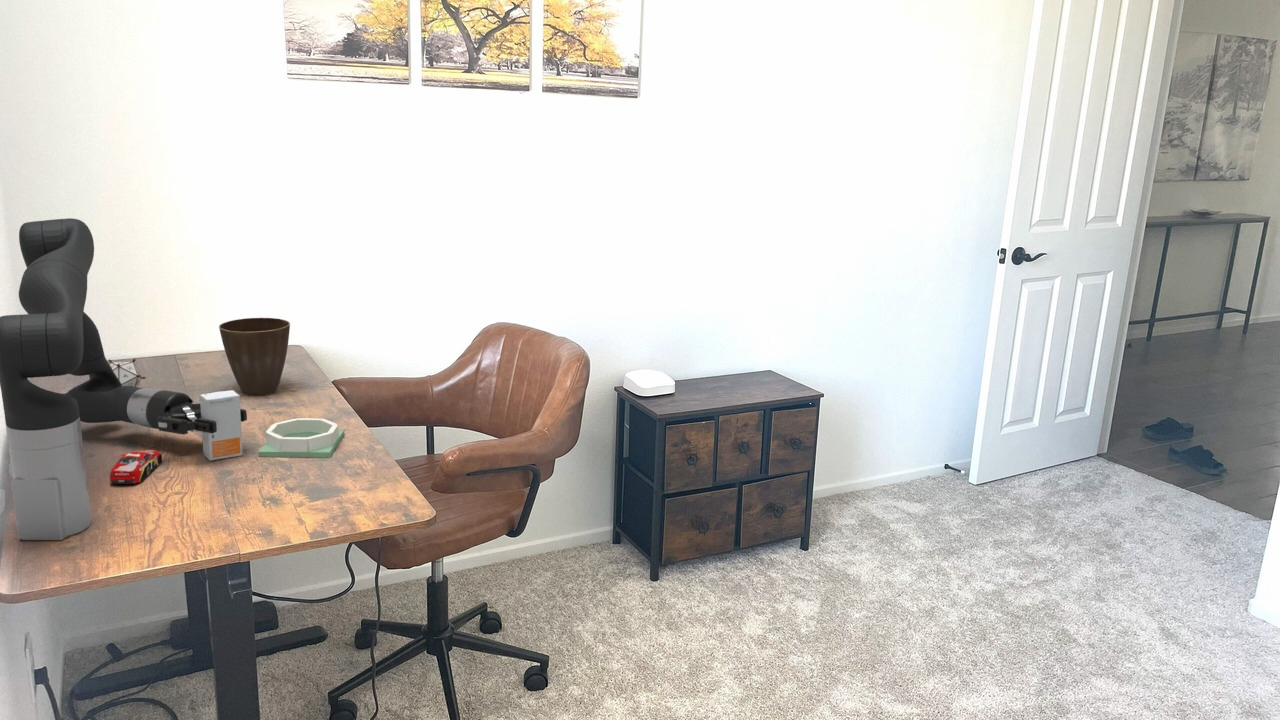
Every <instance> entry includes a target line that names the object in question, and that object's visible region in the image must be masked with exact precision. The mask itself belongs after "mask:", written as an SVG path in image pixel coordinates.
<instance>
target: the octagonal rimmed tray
mask: <svg viewBox="0 0 1280 720" xmlns="http://www.w3.org/2000/svg"><path fill="white" fill-rule="evenodd" d="M344 437H345V429H344V430H343V429H339V424H338V423H335V422H333V421H330V420H328V419H326V418H313V417H311V418H309V417H307V418H302V417H298V418H293V419H287V420H284V421H279V422H275V423H273V424H271V425H270V426H269V428H267V430H266V431H265V440H266V441H265V443H264V445H263V446H262V447H261V448H260V449H259V450H258V457H259V458H262V457H263V458H264V457H265V458H266V457H267V458H273V457H274V458H331V456H332V455H333V453H334V451H335V450H336V449H337V447H338V446H339V444H340V443H341V441H342V439H343V438H344Z"/></svg>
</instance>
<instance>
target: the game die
mask: <svg viewBox="0 0 1280 720" xmlns="http://www.w3.org/2000/svg"><path fill="white" fill-rule="evenodd" d="M135 362H136V358H133V359H132V360H131V361H112V360H111V359H110V358H109V359H108V363H109V365H110V366H111V368H112V370H113V371H114V373H115V375H116V376H117V378H118V379H119V381H120V382H121V384H122V386H134V387H139V384H140V383H141V381H142V380H145V379H146V377H145V376H142V375H141V373H140V371H139V369H138V368H137V365H136V363H135Z"/></svg>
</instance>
